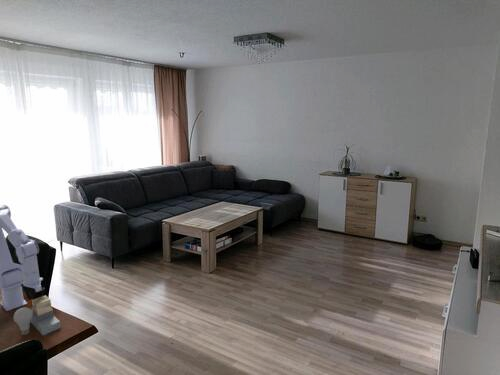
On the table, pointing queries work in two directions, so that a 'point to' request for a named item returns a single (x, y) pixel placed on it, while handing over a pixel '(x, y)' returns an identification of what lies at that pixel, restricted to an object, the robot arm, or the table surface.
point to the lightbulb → (23, 319)
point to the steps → (45, 322)
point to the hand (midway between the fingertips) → (34, 301)
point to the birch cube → (41, 305)
